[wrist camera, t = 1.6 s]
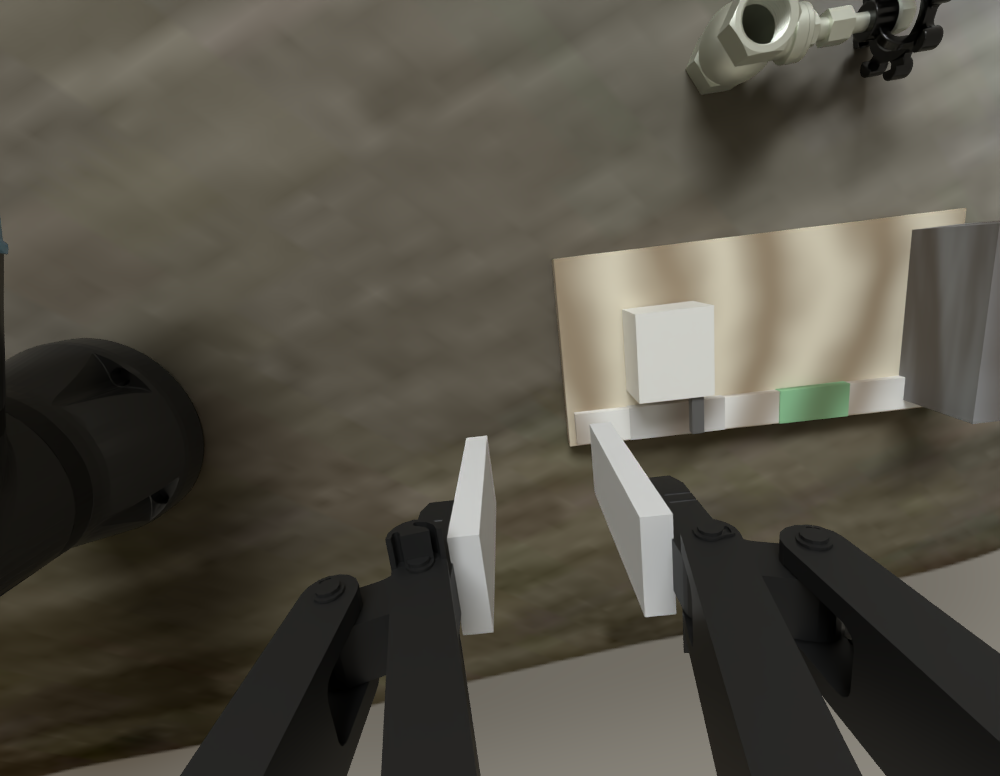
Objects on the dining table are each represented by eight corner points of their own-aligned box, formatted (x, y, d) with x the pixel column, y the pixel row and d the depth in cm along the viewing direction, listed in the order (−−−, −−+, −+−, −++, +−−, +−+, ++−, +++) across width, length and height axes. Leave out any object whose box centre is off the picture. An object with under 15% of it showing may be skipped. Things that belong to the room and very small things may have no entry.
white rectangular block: (628, 424, 36) (641, 441, 33) (622, 309, 34) (635, 314, 31) (695, 417, 36) (715, 433, 33) (692, 300, 34) (713, 305, 31)
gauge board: (568, 440, 38) (583, 481, 31) (551, 259, 35) (564, 258, 28) (929, 400, 37) (1027, 432, 30) (950, 209, 34) (1067, 196, 27)
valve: (684, 125, 33) (865, 95, 32) (728, 92, 26) (955, 55, 26) (679, 12, 31) (870, -21, 30) (724, -52, 25) (967, -95, 24)
